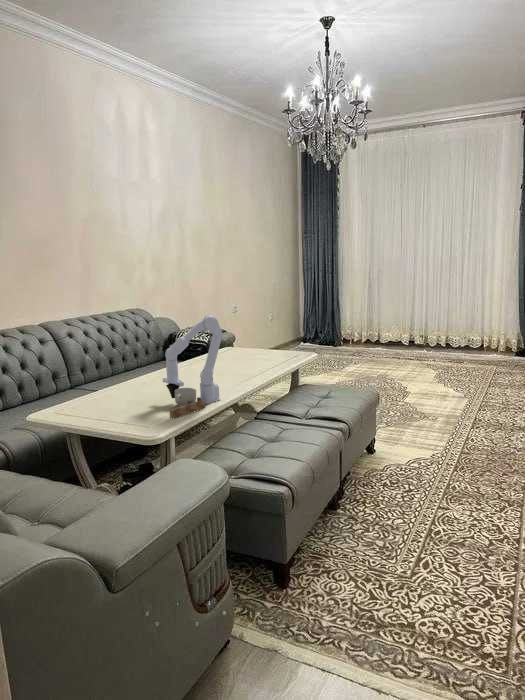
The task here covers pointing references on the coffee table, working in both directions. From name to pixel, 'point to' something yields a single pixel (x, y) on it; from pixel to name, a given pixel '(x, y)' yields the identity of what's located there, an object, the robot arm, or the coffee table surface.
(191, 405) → the stop rail
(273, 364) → the coffee table surface
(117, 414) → the coffee table surface
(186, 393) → the teacup
